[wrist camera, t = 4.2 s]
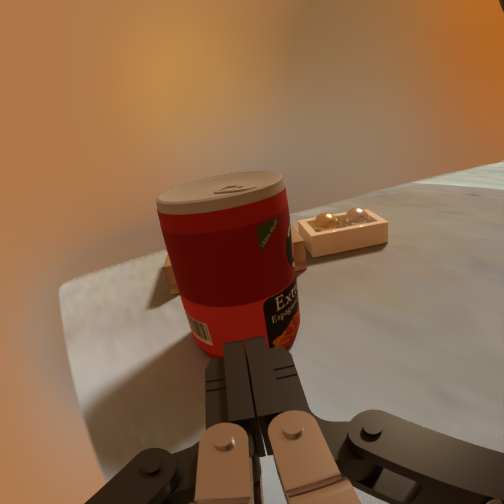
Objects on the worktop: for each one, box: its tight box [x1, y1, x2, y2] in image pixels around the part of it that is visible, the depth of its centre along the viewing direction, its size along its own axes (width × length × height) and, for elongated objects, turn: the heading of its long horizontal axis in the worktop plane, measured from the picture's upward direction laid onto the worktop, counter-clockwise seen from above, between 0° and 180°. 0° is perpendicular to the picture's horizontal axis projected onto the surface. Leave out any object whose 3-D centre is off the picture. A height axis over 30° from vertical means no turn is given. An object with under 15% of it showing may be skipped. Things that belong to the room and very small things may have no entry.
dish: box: [298, 209, 388, 258], centre depth 35 cm, size 9×6×2 cm, turn 97°
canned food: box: [156, 171, 300, 359], centre depth 21 cm, size 8×8×11 cm
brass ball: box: [313, 213, 340, 232], centre depth 35 cm, size 3×3×3 cm
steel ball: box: [344, 208, 370, 227], centre depth 35 cm, size 3×3×3 cm
